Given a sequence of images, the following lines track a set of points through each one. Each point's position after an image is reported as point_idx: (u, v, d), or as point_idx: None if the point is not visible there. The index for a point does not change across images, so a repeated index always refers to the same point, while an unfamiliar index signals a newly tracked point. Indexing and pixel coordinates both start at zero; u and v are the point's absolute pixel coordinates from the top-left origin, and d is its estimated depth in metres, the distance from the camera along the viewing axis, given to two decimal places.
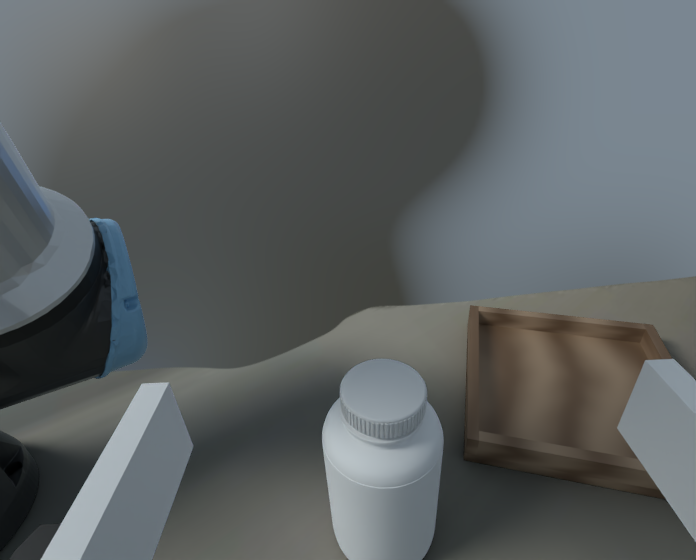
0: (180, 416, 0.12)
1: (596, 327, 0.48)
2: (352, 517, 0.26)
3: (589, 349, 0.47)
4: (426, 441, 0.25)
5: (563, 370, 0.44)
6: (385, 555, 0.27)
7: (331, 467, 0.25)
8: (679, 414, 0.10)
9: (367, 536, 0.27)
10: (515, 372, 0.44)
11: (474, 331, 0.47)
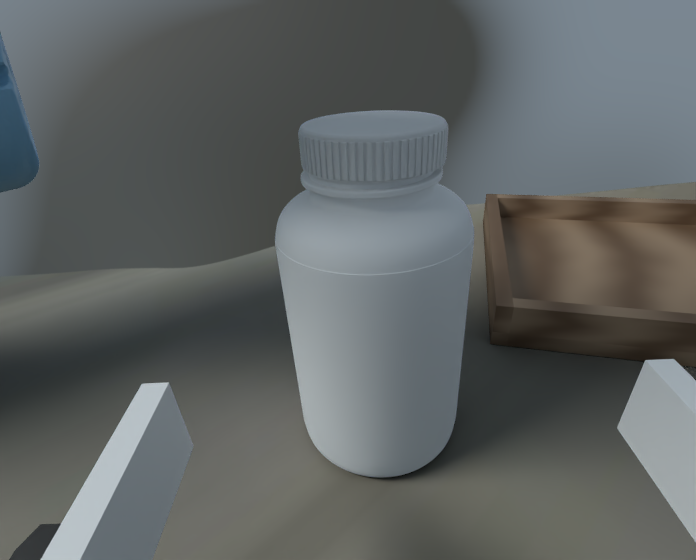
0: (179, 415, 0.12)
1: (648, 208, 0.38)
2: (325, 359, 0.16)
3: (641, 232, 0.37)
4: (447, 210, 0.14)
5: (612, 251, 0.34)
6: (380, 432, 0.17)
7: (287, 266, 0.15)
8: (679, 414, 0.10)
9: (350, 395, 0.16)
10: (550, 255, 0.34)
11: (493, 213, 0.37)
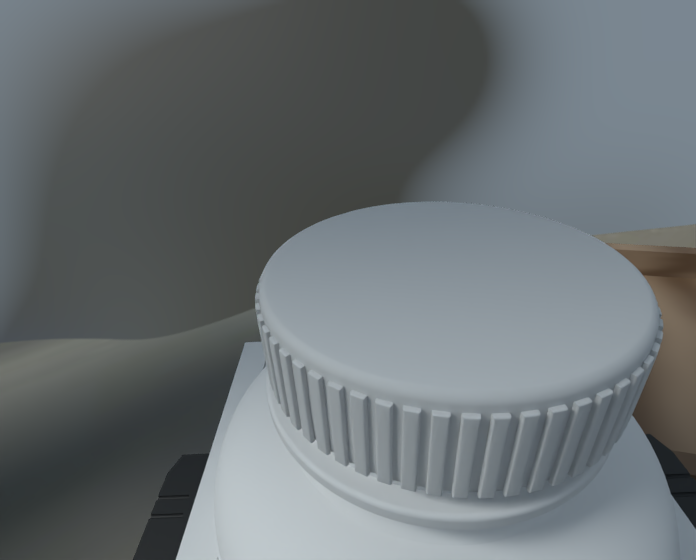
0: None
1: None
2: None
3: None
4: (637, 496, 0.06)
5: None
6: None
7: None
8: None
9: None
10: None
11: None
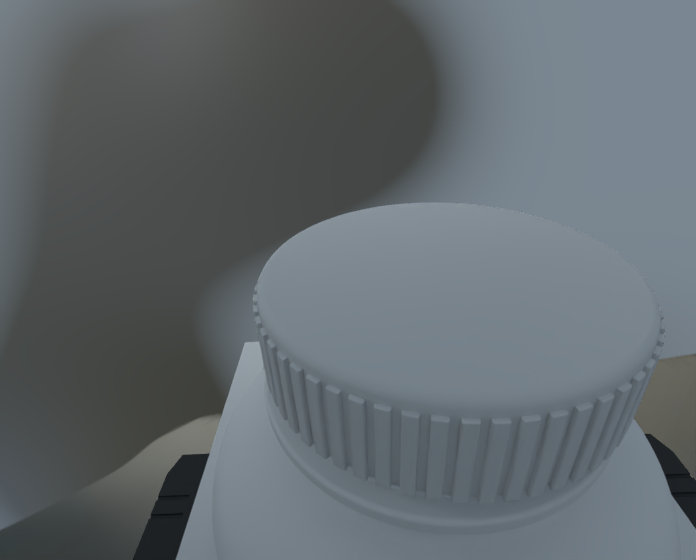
0: None
1: None
2: None
3: None
4: (638, 500, 0.06)
5: None
6: None
7: None
8: None
9: None
10: None
11: None
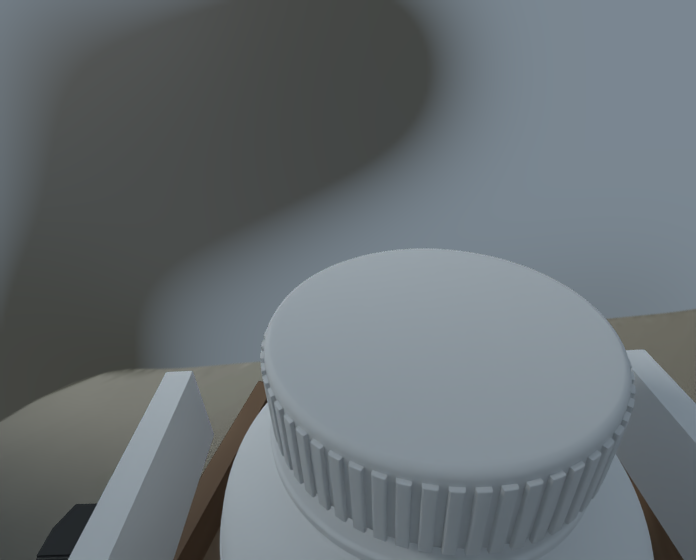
0: (201, 403, 0.12)
1: None
2: None
3: None
4: (615, 540, 0.06)
5: None
6: None
7: None
8: (646, 401, 0.10)
9: None
10: None
11: (219, 462, 0.19)
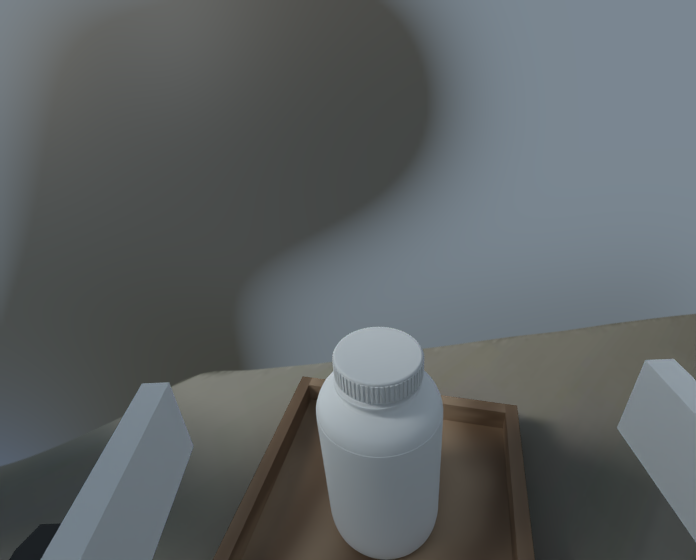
0: (180, 415, 0.12)
1: (446, 408, 0.37)
2: (349, 493, 0.25)
3: None
4: (424, 408, 0.24)
5: None
6: (385, 535, 0.26)
7: (325, 439, 0.24)
8: (679, 414, 0.10)
9: (365, 514, 0.25)
10: (325, 478, 0.33)
11: (287, 417, 0.37)
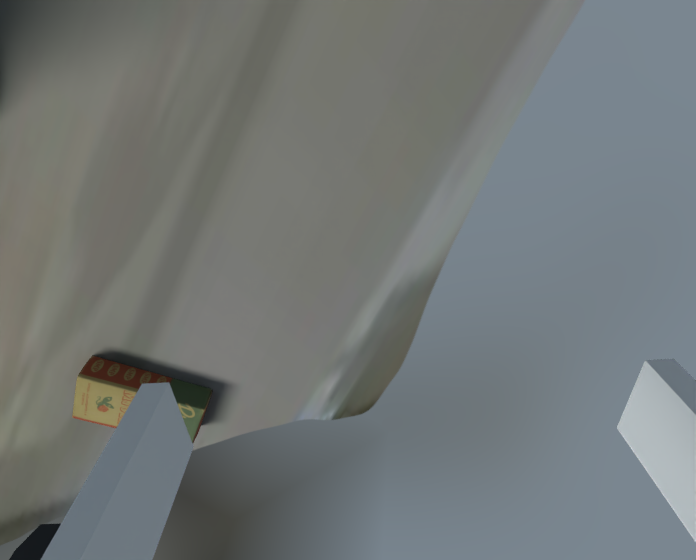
0: (180, 415, 0.12)
1: None
2: None
3: None
4: None
5: None
6: None
7: None
8: (679, 414, 0.10)
9: None
10: None
11: None
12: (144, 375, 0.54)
